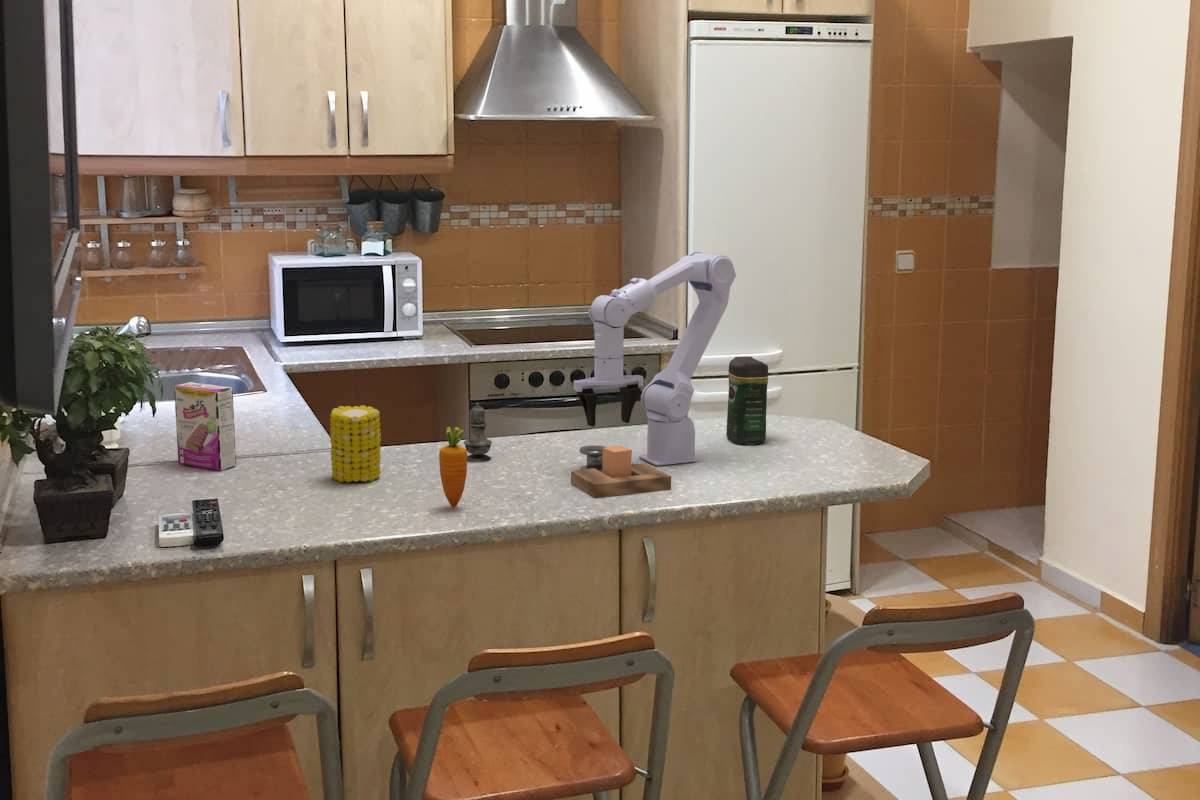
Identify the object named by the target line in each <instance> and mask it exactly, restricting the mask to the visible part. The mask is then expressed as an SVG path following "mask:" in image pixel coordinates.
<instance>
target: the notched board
mask: <svg viewBox="0 0 1200 800" xmlns="http://www.w3.org/2000/svg"><path fill="white" fill-rule="evenodd" d="M570 484H571V485H573V486H575V487H576V488H578V489H580V490H581V491H583V492H584V493H586V494H587V495H589V496H590V497H592V498H596V499H597V498H605V497H606V498H607V497H613V496H622V495H631V494H638V493H649V492H657V491H665V490H672V476H671V475H670V474H668V473H665V472H664V471H662V470H660V469H658V468H656V467H654V466H652V465H650V464H648V463H647V462H642V463H641V462H640V463H631V476H628V477H619V478H611V477H609V476H607V475H606V474H604V473H602V472H600V471H598V470H597V469H595V468H593V469H583V470H580V469H576V470H571V471H570Z"/></svg>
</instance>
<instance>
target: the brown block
mask: <svg viewBox="0 0 1200 800" xmlns="http://www.w3.org/2000/svg"><path fill="white" fill-rule="evenodd" d="M605 447H606V448H603V473H604V474H606V475H607V476H609V477H611V478H619V477H628V476H631V464H633V462H632V455H633V454H632V449H630V448H629V447H625V446H623V445H615V446H605Z"/></svg>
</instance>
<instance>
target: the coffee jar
mask: <svg viewBox="0 0 1200 800" xmlns="http://www.w3.org/2000/svg"><path fill="white" fill-rule="evenodd" d="M768 381H769V365H768V364H766V363H765V362H763V361H761V360H758V359H755V358H753V356H735V357H733V359H731V360H729V364H728V398H727V416H726V417H727V418H726V431H725V432H726V433H725V434H726V437H727V439H728V440H730V441H731V442H733V443H735V444H745V445H747V446H748V445H749V446H752V445H753V446H754V444H755V445H757V444H760V443H764V442H765V441H766V439H767V403H768V402H767V400H768V399H767V398H768V383H769V382H768Z"/></svg>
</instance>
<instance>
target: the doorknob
mask: <svg viewBox="0 0 1200 800" xmlns="http://www.w3.org/2000/svg"><path fill="white" fill-rule="evenodd" d="M606 447H607V446H604V445H597V444H596V445H595V444H594V445H584V446H581V447H580V448H579V453H580V454H582V455H585V456H586V464H585V465H582V466H580V467H579V470H583V469H593V468H595V469H597V470H598V471H600V472H602V473H603V448H606Z"/></svg>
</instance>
